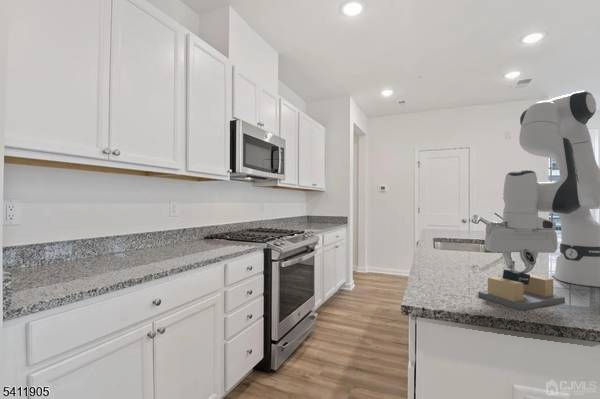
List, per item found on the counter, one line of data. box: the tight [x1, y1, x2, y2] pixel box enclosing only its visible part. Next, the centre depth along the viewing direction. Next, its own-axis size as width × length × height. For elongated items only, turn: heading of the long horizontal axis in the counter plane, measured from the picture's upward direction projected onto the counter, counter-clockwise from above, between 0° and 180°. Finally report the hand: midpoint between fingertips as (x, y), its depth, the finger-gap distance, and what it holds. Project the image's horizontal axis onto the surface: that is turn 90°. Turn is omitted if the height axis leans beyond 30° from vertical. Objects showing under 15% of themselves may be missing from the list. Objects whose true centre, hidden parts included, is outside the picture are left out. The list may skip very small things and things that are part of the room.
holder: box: [477, 273, 566, 311], centre depth 93 cm, size 20×13×6 cm, turn 111°
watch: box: [501, 249, 537, 285], centre depth 93 cm, size 6×8×11 cm
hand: (519, 266), depth 93 cm, fingers closed on watch, 4 cm apart
